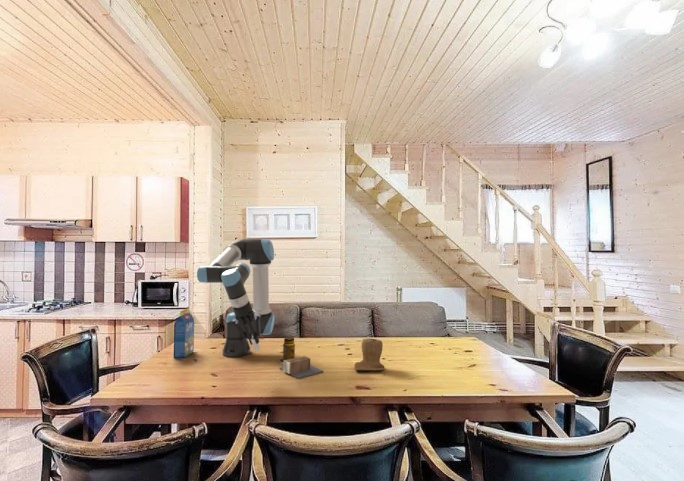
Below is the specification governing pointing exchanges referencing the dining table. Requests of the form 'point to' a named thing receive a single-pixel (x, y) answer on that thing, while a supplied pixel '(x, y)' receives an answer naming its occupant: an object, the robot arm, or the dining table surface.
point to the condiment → (288, 349)
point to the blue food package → (184, 335)
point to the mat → (306, 372)
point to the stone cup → (370, 355)
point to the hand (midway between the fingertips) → (257, 349)
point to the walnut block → (296, 364)
